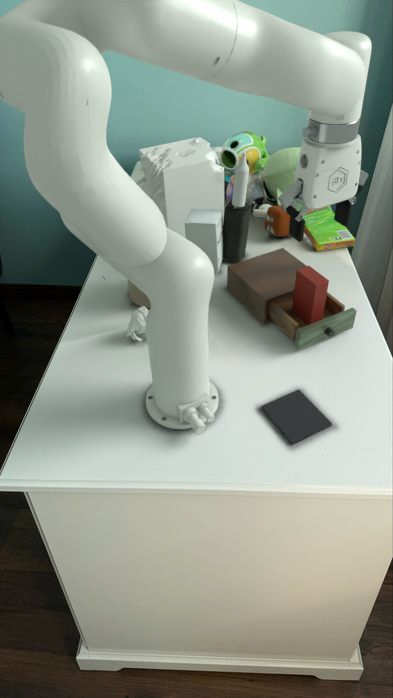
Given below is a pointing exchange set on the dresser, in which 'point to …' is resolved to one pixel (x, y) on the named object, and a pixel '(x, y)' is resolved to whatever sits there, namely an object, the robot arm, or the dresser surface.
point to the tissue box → (182, 179)
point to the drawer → (310, 334)
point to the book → (309, 295)
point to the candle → (237, 216)
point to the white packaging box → (207, 233)
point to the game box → (325, 230)
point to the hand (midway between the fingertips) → (318, 230)
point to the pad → (296, 416)
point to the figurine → (138, 323)
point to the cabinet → (263, 280)
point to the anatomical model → (248, 190)
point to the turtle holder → (247, 144)
